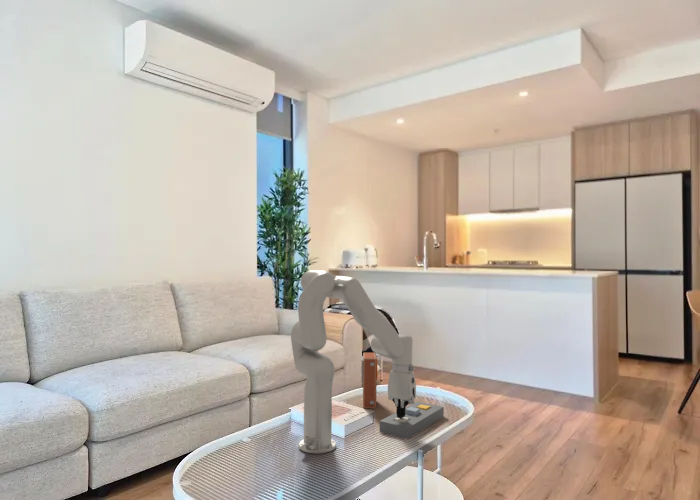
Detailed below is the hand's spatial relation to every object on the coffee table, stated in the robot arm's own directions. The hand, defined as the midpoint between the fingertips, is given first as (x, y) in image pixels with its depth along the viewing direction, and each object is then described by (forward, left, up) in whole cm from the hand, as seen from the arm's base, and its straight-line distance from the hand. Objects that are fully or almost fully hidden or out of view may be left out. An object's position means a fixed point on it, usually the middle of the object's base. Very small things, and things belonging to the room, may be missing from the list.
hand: (400, 417), depth 181 cm
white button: (0, 0, -4) cm, 4 cm away
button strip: (+9, -3, -5) cm, 11 cm away
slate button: (+9, -3, -2) cm, 10 cm away
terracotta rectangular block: (+28, +20, -5) cm, 35 cm away
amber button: (+17, -6, -4) cm, 19 cm away
